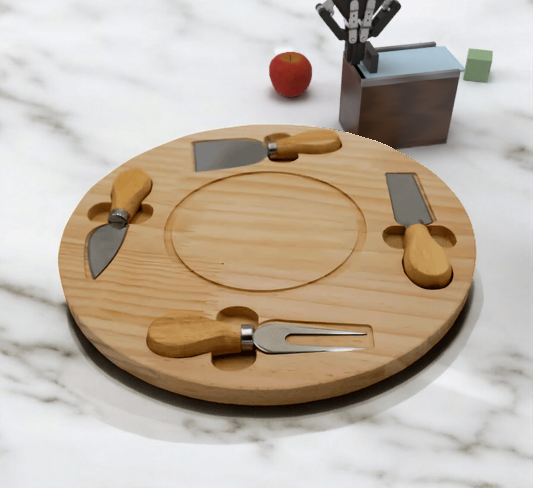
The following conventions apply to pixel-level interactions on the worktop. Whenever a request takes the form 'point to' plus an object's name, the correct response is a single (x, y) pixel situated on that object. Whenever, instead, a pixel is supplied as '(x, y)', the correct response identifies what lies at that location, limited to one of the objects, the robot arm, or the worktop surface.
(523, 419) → the worktop surface
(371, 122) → the case
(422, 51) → the pane
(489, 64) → the block
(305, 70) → the apple
